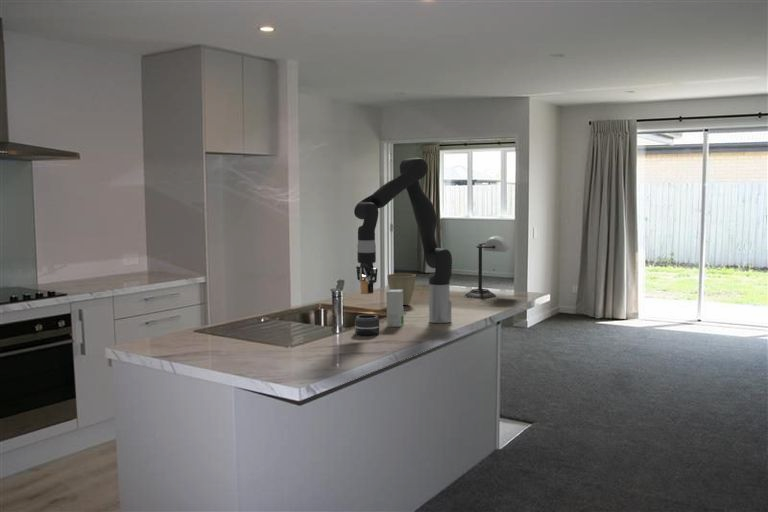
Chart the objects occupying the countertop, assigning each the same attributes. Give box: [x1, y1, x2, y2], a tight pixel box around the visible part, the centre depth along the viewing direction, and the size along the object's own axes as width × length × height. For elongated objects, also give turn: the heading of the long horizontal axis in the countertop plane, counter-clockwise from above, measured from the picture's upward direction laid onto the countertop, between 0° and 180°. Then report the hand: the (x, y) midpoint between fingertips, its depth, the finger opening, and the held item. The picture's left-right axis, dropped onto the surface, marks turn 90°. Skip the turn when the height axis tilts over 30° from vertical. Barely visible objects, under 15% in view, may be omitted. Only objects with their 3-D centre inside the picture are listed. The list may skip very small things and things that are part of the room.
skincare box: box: [385, 289, 405, 328], centre depth 289 cm, size 8×7×16 cm
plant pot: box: [387, 273, 417, 306], centre depth 343 cm, size 15×15×16 cm
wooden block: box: [360, 279, 374, 295], centre depth 271 cm, size 5×6×5 cm
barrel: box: [354, 314, 380, 337], centre depth 272 cm, size 10×10×7 cm
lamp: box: [464, 235, 510, 299], centre depth 370 cm, size 26×24×34 cm
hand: (366, 291), depth 271 cm, fingers closed on wooden block, 5 cm apart
